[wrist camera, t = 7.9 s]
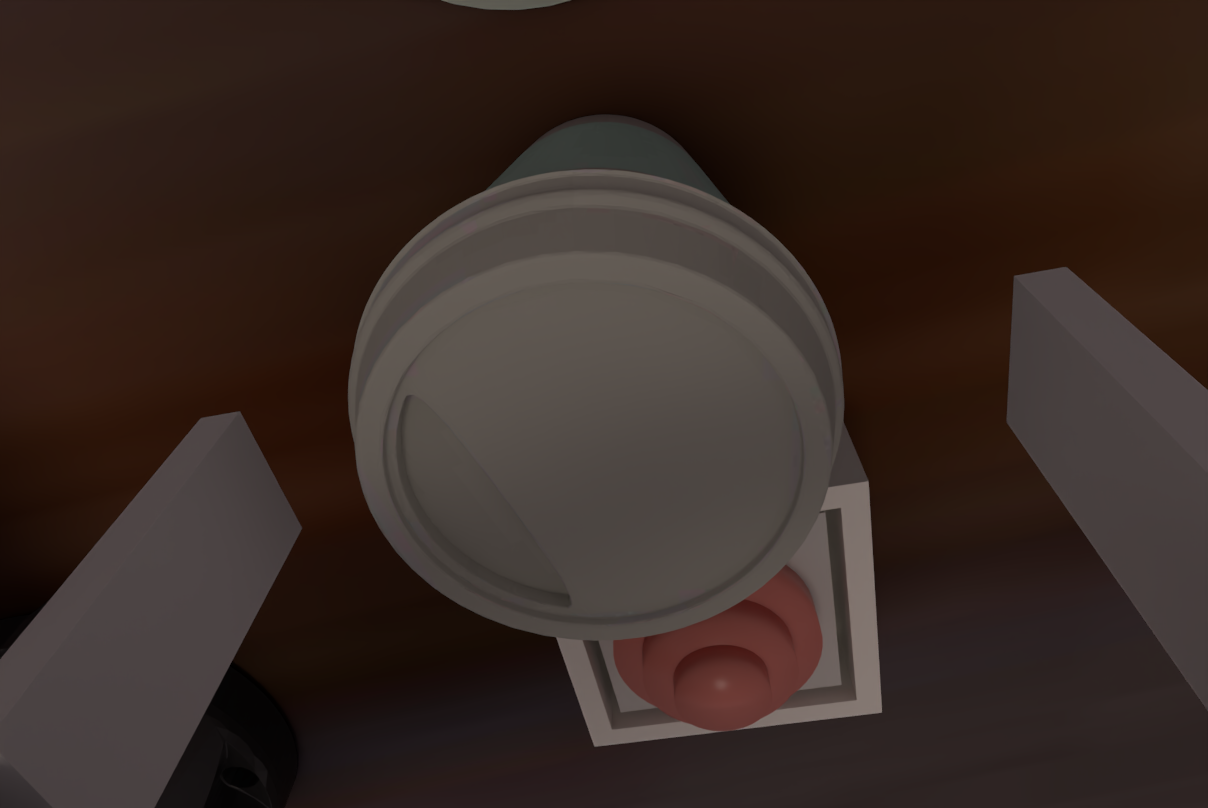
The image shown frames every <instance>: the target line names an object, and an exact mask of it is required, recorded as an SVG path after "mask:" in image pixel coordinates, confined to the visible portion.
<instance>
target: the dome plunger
mask: <svg viewBox="0 0 1208 808" xmlns="http://www.w3.org/2000/svg"><path fill="white" fill-rule="evenodd" d="M598 641H599V644H600V647H601V651H602V654H603V657H604V660H605V663H606V666H607V670H608V673H609V676H610V679H611V682H612V686H613V689H614V692H615V695H616V698H617V702H618V705H619V708H620V711H621V712H628V711H636V710H644V709H652V708H659V709H660V710H661V711H662V712H664V713H665V714H667V715H669V716H670V717H672V718H674V719H677V720H679V721H682V722H685V723H688V724H692V725H694V726H696V727H699V728H702V729H706V730H711V731H731V730H736V729H740V728H744V727H747V726H749V725H751V724H753V723H755V722H757V721H758V720H759V719H761V718H763V717H765V716H767V715H769V714H771V713H772V712H774V711H775V710H777V709H778V708H779V707H781V706H782V705H783V704H784V703H785V702H786V701H787V700H788V699H789V697H790V696H791V695H792V694H794V693H795V692H796V691H798V690H805V689H813V688H821V687H829V686H837V685H841V674H840V664H839V653H838V643H837V632H836V622H835V612H834V601H833V591H832V580H831V570H830V559H829V549H828V538H827V528H826V517H825V511H824V510H823V511H820V513H819V515H818V518H817V520H816V522H815V523H814V525H813V527H812V529H811V531H810V532H809V534H808V536H807V538H806V539H805V541H804V542H803V544H802V545H801V546H800V548H799V549H798V550H797V551H796V553H795V554H794V555H793V557H792V558H791V559H790V561H789V562H788V563H787V564H786V565H785V566H784V567H783V568H782V569H781V570H780V571H779V572H778V573H777V574H776V575H775V576H774V577H773V578H771V579H770V580H769V581H768V582H767V583H766V584H765V585H763V586H762V587H761V588H760V589H758V590H757V591H755V592H754V593H753V594H751V595H750V596H748V597H747V598H745V599H744V600H742V601H741V602H739V603H737V604H736V605H734V606H732V607H731V608H729V609H727V610H725V611H723V612H721V613H719V614H717V615H715V616H713V617H711V618H709V619H706V620H703V621H701V622H698V623H695V624H692V625H690V626H687V627H684V628H681V629H677V630H674V631H670V632H666V633H662V634H657V635H652V636H647V637H640V638H631V639H622V640H598Z"/></svg>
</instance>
